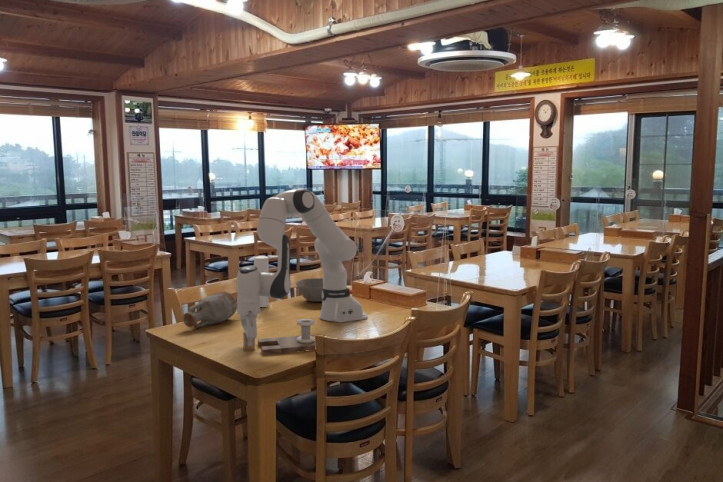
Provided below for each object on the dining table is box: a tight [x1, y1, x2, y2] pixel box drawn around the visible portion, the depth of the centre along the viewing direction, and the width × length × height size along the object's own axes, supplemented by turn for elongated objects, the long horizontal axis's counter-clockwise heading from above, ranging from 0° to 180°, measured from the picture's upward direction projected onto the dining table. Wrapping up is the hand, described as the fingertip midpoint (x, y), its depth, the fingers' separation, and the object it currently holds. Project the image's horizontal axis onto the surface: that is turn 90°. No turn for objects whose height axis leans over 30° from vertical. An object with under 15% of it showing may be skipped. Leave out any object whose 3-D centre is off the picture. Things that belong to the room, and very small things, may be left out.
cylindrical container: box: [253, 255, 270, 308], centre depth 290 cm, size 7×7×25 cm
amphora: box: [182, 290, 238, 329], centre depth 259 cm, size 14×16×30 cm
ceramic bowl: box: [295, 277, 323, 303], centre depth 304 cm, size 22×23×10 cm
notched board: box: [257, 334, 316, 356], centre depth 228 cm, size 24×14×2 cm, turn 108°
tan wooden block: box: [242, 331, 256, 351], centre depth 224 cm, size 4×4×6 cm
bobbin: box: [296, 318, 316, 343], centre depth 229 cm, size 7×7×8 cm
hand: (249, 343), depth 224 cm, fingers closed on tan wooden block, 4 cm apart
